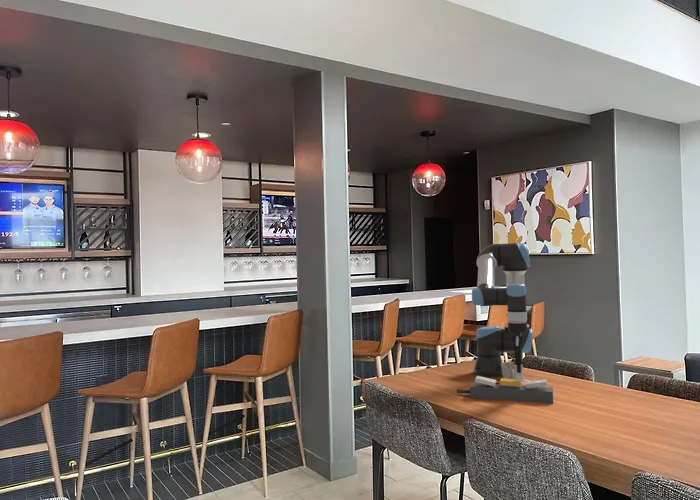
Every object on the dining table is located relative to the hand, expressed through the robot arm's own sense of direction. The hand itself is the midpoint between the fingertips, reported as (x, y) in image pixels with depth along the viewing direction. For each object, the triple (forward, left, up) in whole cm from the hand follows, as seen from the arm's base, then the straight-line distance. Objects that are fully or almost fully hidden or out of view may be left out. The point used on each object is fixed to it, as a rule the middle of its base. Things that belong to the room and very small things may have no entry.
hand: (519, 380), depth 215 cm
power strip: (0, -6, -8) cm, 10 cm away
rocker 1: (0, -13, -1) cm, 14 cm away
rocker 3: (0, +7, -1) cm, 7 cm away
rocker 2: (0, -3, -1) cm, 4 cm away
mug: (-20, -4, -8) cm, 22 cm away
